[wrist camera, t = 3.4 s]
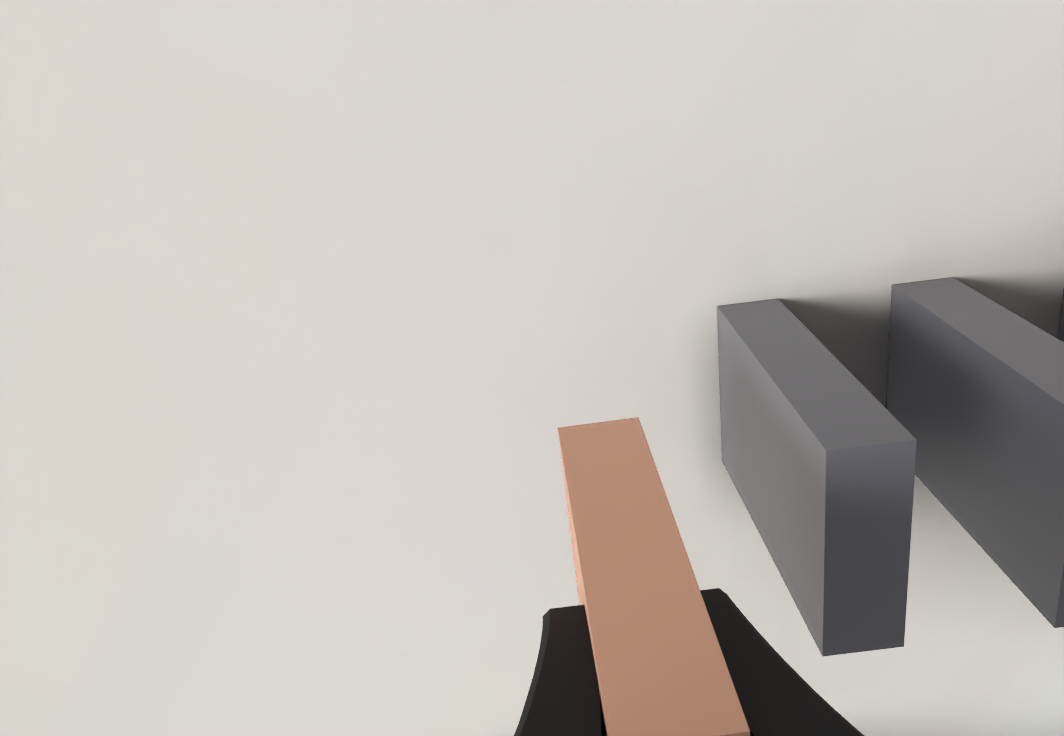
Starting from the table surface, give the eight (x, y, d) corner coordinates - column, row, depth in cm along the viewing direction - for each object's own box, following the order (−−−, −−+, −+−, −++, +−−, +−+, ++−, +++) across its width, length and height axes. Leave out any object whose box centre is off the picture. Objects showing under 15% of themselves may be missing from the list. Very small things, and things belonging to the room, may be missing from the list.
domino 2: (779, 453, 22) (903, 646, 15) (722, 460, 22) (822, 656, 15) (777, 298, 20) (916, 439, 14) (717, 305, 20) (825, 450, 14)
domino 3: (941, 433, 22) (1135, 618, 15) (884, 440, 22) (1054, 627, 15) (953, 277, 20) (1174, 407, 14) (891, 284, 20) (1083, 418, 14)
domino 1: (653, 603, 17) (756, 985, 10) (580, 613, 17) (638, 999, 10) (638, 417, 15) (749, 731, 9) (557, 427, 15) (611, 748, 9)
